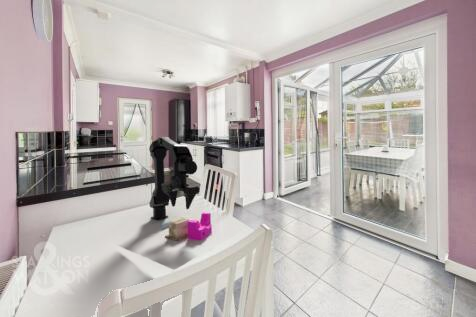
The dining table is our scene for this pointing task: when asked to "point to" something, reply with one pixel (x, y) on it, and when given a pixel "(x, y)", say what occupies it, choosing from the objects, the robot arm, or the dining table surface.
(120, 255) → the dining table surface
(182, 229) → the block
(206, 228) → the toy block
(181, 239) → the board
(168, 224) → the channel
